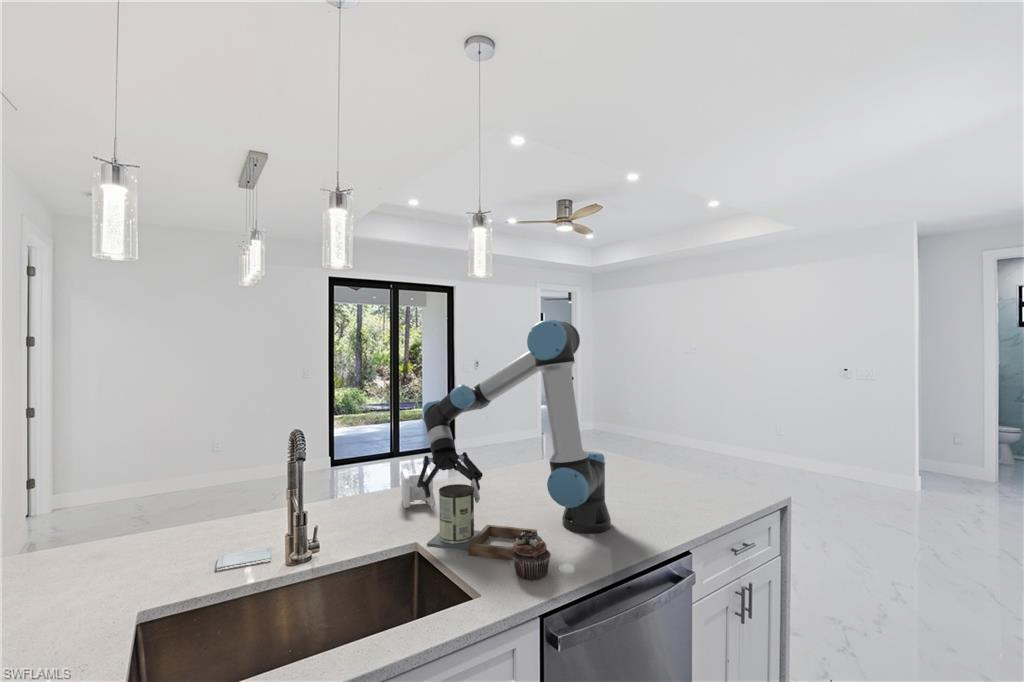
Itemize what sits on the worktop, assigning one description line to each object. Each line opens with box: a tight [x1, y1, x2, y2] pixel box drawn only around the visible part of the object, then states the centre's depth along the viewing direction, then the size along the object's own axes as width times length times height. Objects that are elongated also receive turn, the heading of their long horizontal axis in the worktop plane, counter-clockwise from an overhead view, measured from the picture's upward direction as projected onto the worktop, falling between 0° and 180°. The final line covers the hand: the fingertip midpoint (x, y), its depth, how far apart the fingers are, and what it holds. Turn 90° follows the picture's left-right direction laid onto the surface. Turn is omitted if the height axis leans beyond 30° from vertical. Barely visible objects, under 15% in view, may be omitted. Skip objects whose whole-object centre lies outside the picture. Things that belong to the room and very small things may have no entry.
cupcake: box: [512, 530, 551, 581], centre depth 120 cm, size 10×10×10 cm
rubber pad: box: [426, 529, 481, 551], centre depth 142 cm, size 13×13×1 cm
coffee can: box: [438, 483, 475, 544], centre depth 142 cm, size 10×10×14 cm
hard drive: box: [215, 546, 272, 570], centre depth 128 cm, size 2×8×12 cm
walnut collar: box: [467, 524, 538, 562], centre depth 136 cm, size 15×15×3 cm
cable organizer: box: [400, 466, 434, 509], centre depth 175 cm, size 15×11×12 cm
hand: (456, 503), depth 142 cm, fingers open, 13 cm apart
